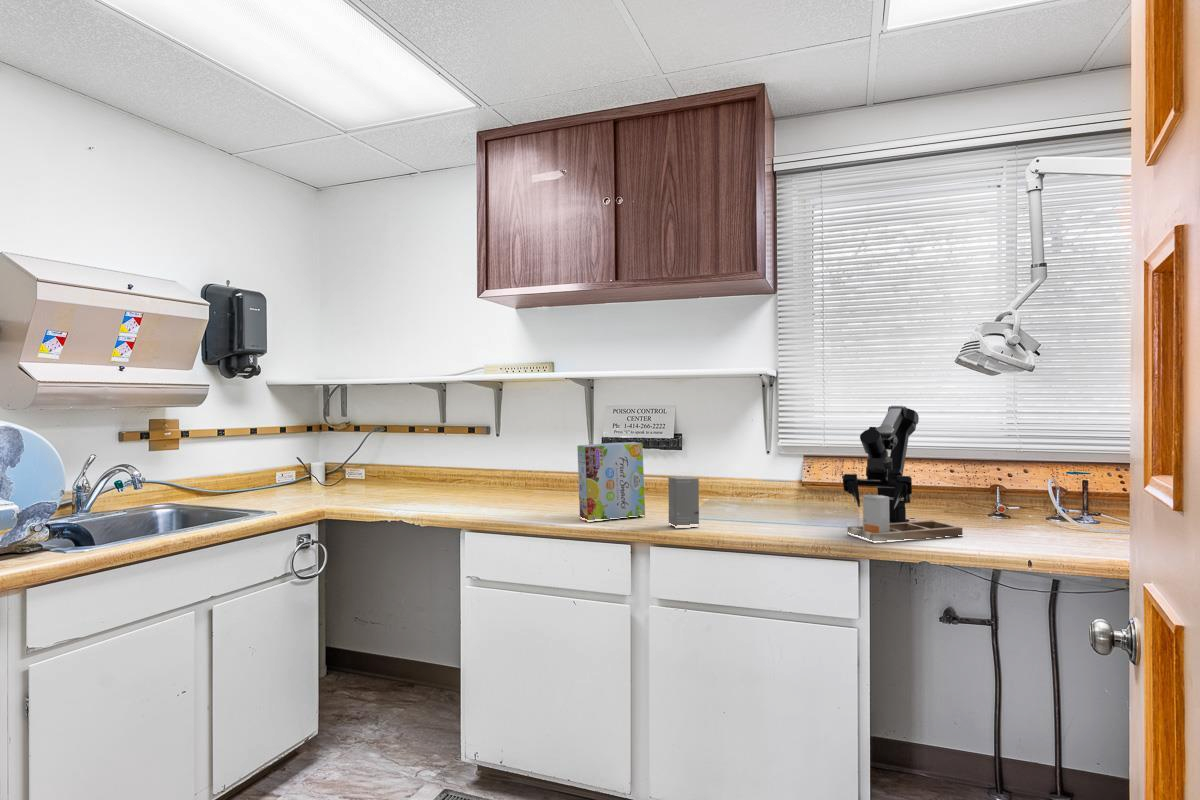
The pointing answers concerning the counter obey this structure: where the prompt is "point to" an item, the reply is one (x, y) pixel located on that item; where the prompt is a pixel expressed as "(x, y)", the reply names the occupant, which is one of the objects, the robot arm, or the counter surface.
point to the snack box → (611, 480)
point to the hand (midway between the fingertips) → (876, 507)
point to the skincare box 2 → (876, 513)
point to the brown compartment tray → (909, 531)
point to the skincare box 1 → (683, 500)
